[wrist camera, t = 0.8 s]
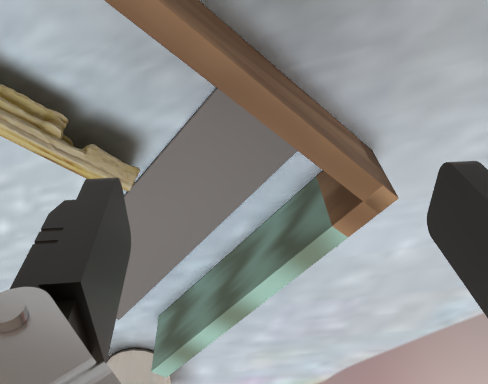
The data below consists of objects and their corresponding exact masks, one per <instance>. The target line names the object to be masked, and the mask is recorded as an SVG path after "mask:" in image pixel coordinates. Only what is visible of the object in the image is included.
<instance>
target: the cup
mask: <svg viewBox="0 0 488 384" xmlns="http://www.w3.org/2000/svg"><path fill="white" fill-rule="evenodd" d="M153 355H154V352H153V351H149V350H146V349H135V348H133V349H127V350H122V351H120V352H118V353H116V354H113V356H112V357H111V358H110V359H109V361H108V362H107V363H106V364H107V365H108V366H109V367H110V369H111V370H112V372H113V373H114V374H115V376H116V377H117V379H118V380H119V381H120V383H121V384H171V379H170V375H169V376H168V377H167V378H166V377H163V376H161V375H158V374H156V373H153V372H151V369H152V362H153Z"/></svg>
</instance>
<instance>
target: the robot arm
mask: <svg viewBox="0 0 488 384" xmlns="http://www.w3.org/2000/svg"><path fill="white" fill-rule="evenodd" d="M427 226H428V230H429V233H430V236H431V237H432V239H433V240H434V242H435V243H436V245H437V246H438V247H439V249H440V250H441V252H442V253H443V255H444V256H445V257H446V259H447V260H448V262H449V263H450V265H451V266H452V268H453V269H454V270H455V272H456V273H457V275H458V276H459V278H460V279H461V280H462V282H463V283H464V285H465V286H466V288H467V289H468V290H469V292H470V293H471V295H472V296H473V298H474V299H475V300H476V302H477V303H478V305H479V306H480V308H481V309H482V311H483V312H484V313H485V315H486V316H487V318H488V170H487V169H486V168H485V167H484V166H483V165H482V164H481V163H479V162H477V161H464V162H446V163H444V164H443V165H442V166H441V167H440V169H439V172H438V176H437V180H436V183H435V187H434V191H433V195H432V198H431V202H430V206H429V209H428V214H427ZM130 252H131V231H130V225H129V220H128V215H127V210H126V205H125V200H124V195H123V189H122V185H121V182H120V179H119V178H97V179H86V180H85V182H84V184H83V186H82V188H81V190H80V193H79V195H78V197H77V199H76V200H65V201H63V202H62V203H61V204H60V205H59V206H58V207H56V208H55V209H54V210H53V211H52V212H50V213H49V215H48V216H47V218H46V220H45V222H44V224H43V226H42V228H41V232H39V234H38V236H37V238H36V240H35V244H33V245H32V247H31V249H30V251H29V253H28V255H27V257H26V259H25V261H24V263H23V265H22V267H21V268H20V270H19V272H18V274H17V276H16V278H15V280H14V282H13V284H12V286H11V288H10V290H6V291H4V292H1V293H0V384H121V383H120V381H119V380H118V379H117V377H116V376H115V374H114V373H113V372H112V370H111V369H110V367H109V366H108V365H107V364H106V362H107V357H108V353H109V348H110V344H111V339H112V334H113V330H114V325H115V321H116V316H117V312H118V307H119V303H120V298H121V294H122V289H123V284H124V280H125V275H126V271H127V266H128V262H129V257H130Z"/></svg>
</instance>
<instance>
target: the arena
mask: <svg viewBox="0 0 488 384" xmlns="http://www.w3.org/2000/svg"><path fill="white" fill-rule="evenodd" d="M105 1H106V2H107V3H108V4H110V5H111V6H112V7H114V8H115V9H116V10H117V11H119V12H120V13H121V14H123V15H124V16H125V17H126V18H128V19H129V20H130V21H132V22H133V23H134V24H135V25H137V26H138V27H139V28H141V29H142V30H143V31H144V32H146V33H147V34H148V35H150V36H151V37H152V38H153V39H155V40H156V41H157V42H159V43H160V44H161V45H162V46H164V47H165V48H166V49H168V50H169V51H170V52H171V53H173V54H174V55H175V56H177V57H178V58H179V59H181V60H182V61H183V62H184V63H186V64H187V65H188V66H190V67H191V68H192V69H193V70H195V71H196V72H197V73H199V74H200V75H201V76H202V77H204V78H205V79H206V80H208V81H209V82H210V83H211V84H213V85H214V86H215V87H217V88H218V89H219V90H220V91H222V92H223V93H224V94H226V95H227V96H228V97H229V98H231V99H232V100H233V101H235V102H236V103H237V104H238V105H240V106H241V107H242V108H244V109H245V110H246V111H247V112H249V113H250V114H251V115H253V116H254V117H255V118H256V119H258V120H259V121H260V122H262V123H263V124H264V125H265V126H267V127H268V128H269V129H271V130H272V131H273V132H274V133H276V134H277V135H278V136H280V137H281V138H282V139H284V140H285V141H286V142H287V143H289V144H290V145H291V146H293V147H294V148H295V149H296V150H298V151H299V152H300V153H302V154H303V155H304V156H305V157H307V158H308V159H309V160H311V161H312V162H313V163H314V164H316V165H317V166H318V167H320V168H321V169H322V170H323V171H322V172H321V173H320V174H319V175H317V176H316V177H315V178H314V179H313V180H312V181H311V182H310V183H308V184H307V185H306V186H305V187H304V188H303V189H302V190H301V191H299V192H298V193H297V194H296V195H295V196H294V197H293V198H292V199H290V200H289V201H288V202H287V203H286V204H285V205H284V206H283V207H281V208H280V209H279V210H278V211H277V212H276V213H275V214H274V215H272V216H271V217H270V218H269V219H268V220H267V221H266V222H265V223H263V224H262V225H261V226H260V227H259V228H258V229H257V230H256V231H254V232H253V233H252V234H251V235H250V236H249V237H248V238H247V239H245V240H244V241H243V242H242V243H241V244H240V245H239V246H238V247H236V248H235V249H234V250H233V251H232V252H231V253H230V254H229V255H227V256H226V257H225V258H224V259H223V260H222V261H221V262H220V263H218V264H217V265H216V266H215V267H214V268H213V269H212V270H211V271H209V272H208V273H207V274H206V275H205V276H204V277H203V278H202V279H200V280H199V281H198V282H197V283H196V284H195V285H194V286H193V287H191V288H190V289H189V290H188V291H187V292H186V293H185V294H184V295H182V296H181V297H180V298H179V299H178V300H177V301H176V302H175V303H173V304H172V305H171V306H170V307H169V308H168V309H167V310H165V311H164V312H163V313H162V314H161V315H160V316H159V319H158V326H157V333H156V340H155V348H154V355H153V362H152V369H151V372H153V373H156V374H158V375H161V376H163V377H166V378H167V377H168V376H169V375H171V374H172V373H173V372H174V371H176V370H177V369H178V368H180V367H181V366H182V365H184V364H185V363H186V362H187V361H189V360H190V359H191V358H193V357H194V356H195V355H196V354H198V353H199V352H200V351H202V350H203V349H204V348H206V347H207V346H208V345H209V344H211V343H212V342H213V341H215V340H216V339H217V338H218V337H220V336H221V335H222V334H224V333H225V332H226V331H228V330H229V329H230V328H231V327H233V326H234V325H235V324H237V323H238V322H239V321H240V320H242V319H243V318H244V317H246V316H247V315H248V314H250V313H251V312H252V311H253V310H255V309H256V308H257V307H259V306H260V305H261V304H262V303H264V302H265V301H266V300H268V299H269V298H270V297H272V296H273V295H274V294H275V293H277V292H278V291H279V290H281V289H282V288H283V287H284V286H286V285H287V284H288V283H290V282H291V281H292V280H294V279H295V278H296V277H297V276H299V275H300V274H301V273H303V272H304V271H305V270H306V269H308V268H309V267H310V266H312V265H313V264H314V263H316V262H317V261H318V260H319V259H321V258H322V257H323V256H325V255H326V254H327V253H328V252H330V251H331V250H332V249H334V248H335V247H336V246H338V245H339V244H340V243H341V242H343V241H344V240H345V239H347V238H348V237H349V236H351V235H352V234H353V233H354V232H356V231H357V230H358V229H360V228H361V227H362V226H363V225H365V224H366V223H367V222H369V221H370V220H371V219H373V218H374V217H375V216H376V215H378V214H379V213H380V212H382V211H383V210H384V209H385V208H387V207H388V206H389V205H391V204H392V203H393V202H395V201H396V200H397V199H398V196H397V194H396V193H395V191H394V189H393V187H392V185H391V183H390V182H389V180H388V178H387V176H386V174H385V173H384V171H383V169H382V167H381V165H380V164H379V162H378V160H377V158H376V156H375V154H374V153H373V151H372V150H371V149H370V148H369V147H367V146H366V145H365V144H364V143H363V142H362V141H361V140H359V139H358V138H357V137H356V136H355V135H354V134H352V133H351V132H350V131H349V130H348V129H347V128H345V127H344V126H343V125H342V124H341V123H340V122H338V121H337V120H336V119H335V118H334V117H333V116H332V115H330V114H329V113H328V112H327V111H326V110H325V109H323V108H322V107H321V106H320V105H319V104H318V103H316V102H315V101H314V100H313V99H312V98H311V97H310V96H308V95H307V94H306V93H305V92H304V91H303V90H301V89H300V88H299V87H298V86H297V85H296V84H294V83H293V82H292V81H291V80H290V79H289V78H288V77H286V76H285V75H284V74H283V73H282V72H281V71H279V70H278V69H277V68H276V67H275V66H274V65H272V64H271V63H270V62H269V61H268V60H267V59H266V58H264V57H263V56H262V55H261V54H260V53H259V52H257V51H256V50H255V49H254V48H253V47H252V46H250V45H249V44H248V43H247V42H246V41H245V40H244V39H242V38H241V37H240V36H239V35H238V34H237V33H235V32H234V31H233V30H232V29H231V28H230V27H228V26H227V25H226V24H225V23H224V22H223V21H222V20H220V19H219V18H218V17H217V16H216V15H215V14H213V13H212V12H211V11H210V10H209V9H208V8H206V7H205V6H204V5H203V4H202V3H201V2H200V1H198V0H105Z"/></svg>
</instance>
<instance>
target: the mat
mask: <svg viewBox="0 0 488 384" xmlns="http://www.w3.org/2000/svg"><path fill="white" fill-rule="evenodd" d="M297 151H298V150H296V149H295V148H294V147H293V146H291V145H290V144H289V143H287V142H286V141H285V140H284V139H282V138H281V137H280V136H278V135H277V134H276V133H274V132H273V131H272V130H271V129H269V128H268V127H267V126H265V125H264V124H263V123H262V122H260V121H259V120H258V119H256V118H255V117H254V116H253V115H251V114H250V113H249V112H247V111H246V110H245V109H244V108H242V107H241V106H240V105H238V104H237V103H236V102H235V101H233V100H232V99H231V98H229V97H228V96H227V95H226V94H224V93H223V92H222V91H220V90H219V89H218V88H216V89H215V90H214V92H213V93H212V94H211V95H210V96H209V97H208V99H207V100H206V101H205V102H204V103H203V104H202V106H201V107H200V108H199V109H198V110H197V111H196V112H195V114H194V115H193V116H192V117H191V118H190V119H189V121H188V122H187V123H186V124H185V125H184V126H183V128H182V129H181V130H180V131H179V132H178V133H177V135H176V136H175V137H174V138H173V139H172V140H171V142H170V143H169V144H168V145H167V146H166V147H165V149H164V150H163V151H162V152H161V153H160V154H159V156H158V157H157V158H156V159H155V160H154V161H153V163H152V164H151V165H150V166H149V167H148V168H147V170H146V171H145V172H144V173H143V174H142V175H141V177H140V178H139V179H138V180H137V181H136V182H135V184H134V185H133V187H132V188H131V190H130V191H128V192H127V193H126V194H125V195H124V200H125V205H126V210H127V215H128V220H129V225H130V231H131V252H130V257H129V262H128V266H127V271H126V275H125V280H124V284H123V289H122V294H121V298H120V303H119V307H118V312H117V316H116V319H120V318H122V317H123V316H124V315H125V314H126V313H127V312H128V311H129V310H130V309H131V308H132V307H133V306H134V305H135V304H136V303H137V302H138V301H139V300H141V299H142V298H143V297H144V296H145V295H146V294H147V293H148V292H149V291H150V290H151V289H152V288H153V287H154V286H155V285H156V284H157V283H158V282H160V281H161V280H162V279H163V278H164V277H165V276H166V275H167V274H168V273H169V272H170V271H171V270H172V269H173V268H174V267H175V266H176V265H177V264H179V263H180V262H181V261H182V260H183V259H184V258H185V257H186V256H187V255H188V254H189V253H190V252H191V251H192V250H193V249H194V248H195V247H196V246H198V245H199V244H200V243H201V242H202V241H203V240H204V239H205V238H206V237H207V236H208V235H209V234H210V233H211V232H212V231H213V230H214V229H215V228H217V227H218V226H219V225H220V224H221V223H222V222H223V221H224V220H225V219H226V218H227V217H228V216H229V215H230V214H231V213H232V212H233V211H234V210H236V209H237V208H238V207H239V206H240V205H241V204H242V203H243V202H244V201H245V200H246V199H247V198H248V197H249V196H250V195H251V194H252V193H253V192H255V191H256V190H257V189H258V188H259V187H260V186H261V185H262V184H263V183H264V182H265V181H266V180H267V179H268V178H269V177H270V176H271V175H272V174H274V173H275V172H276V171H277V170H278V169H279V168H280V167H281V166H282V165H283V164H284V163H285V162H286V161H287V160H288V159H289V158H290V157H291V156H293V155H294V154H295V153H296V152H297Z"/></svg>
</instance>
